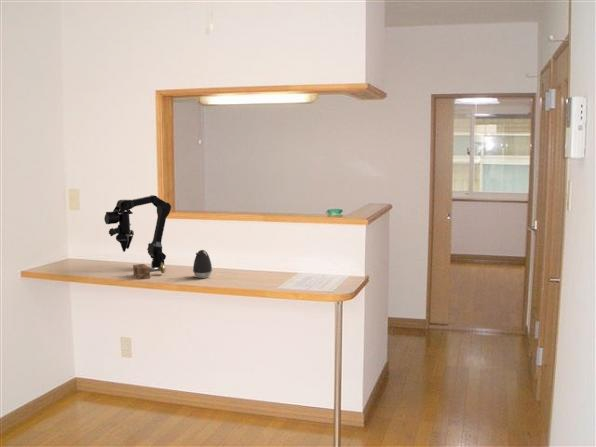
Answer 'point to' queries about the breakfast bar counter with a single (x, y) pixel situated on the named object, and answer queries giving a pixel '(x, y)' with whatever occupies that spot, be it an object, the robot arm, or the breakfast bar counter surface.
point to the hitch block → (141, 271)
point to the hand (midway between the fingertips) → (125, 250)
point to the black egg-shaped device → (202, 265)
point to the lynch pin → (158, 268)
